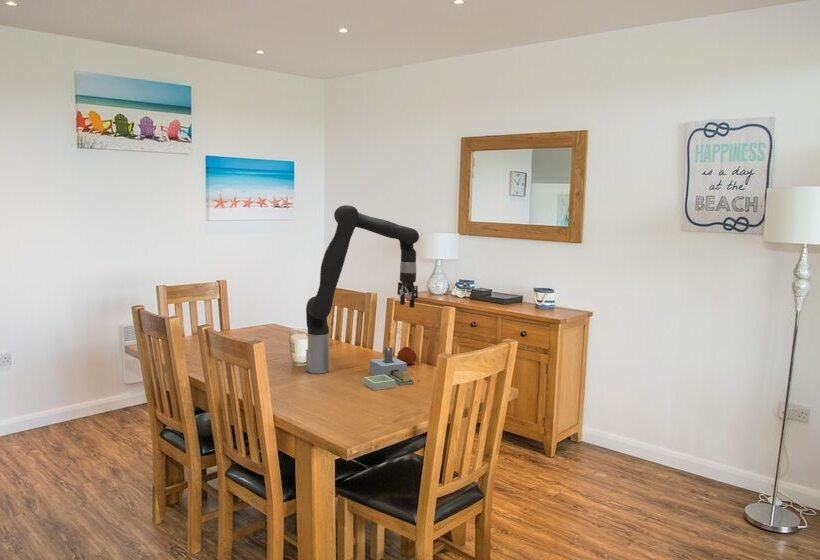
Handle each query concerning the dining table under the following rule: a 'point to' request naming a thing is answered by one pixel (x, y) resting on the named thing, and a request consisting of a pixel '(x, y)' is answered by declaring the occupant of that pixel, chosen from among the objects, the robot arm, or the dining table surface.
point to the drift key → (402, 375)
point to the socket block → (389, 369)
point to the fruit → (406, 355)
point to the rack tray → (379, 382)
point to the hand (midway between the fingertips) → (407, 306)
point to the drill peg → (388, 355)
